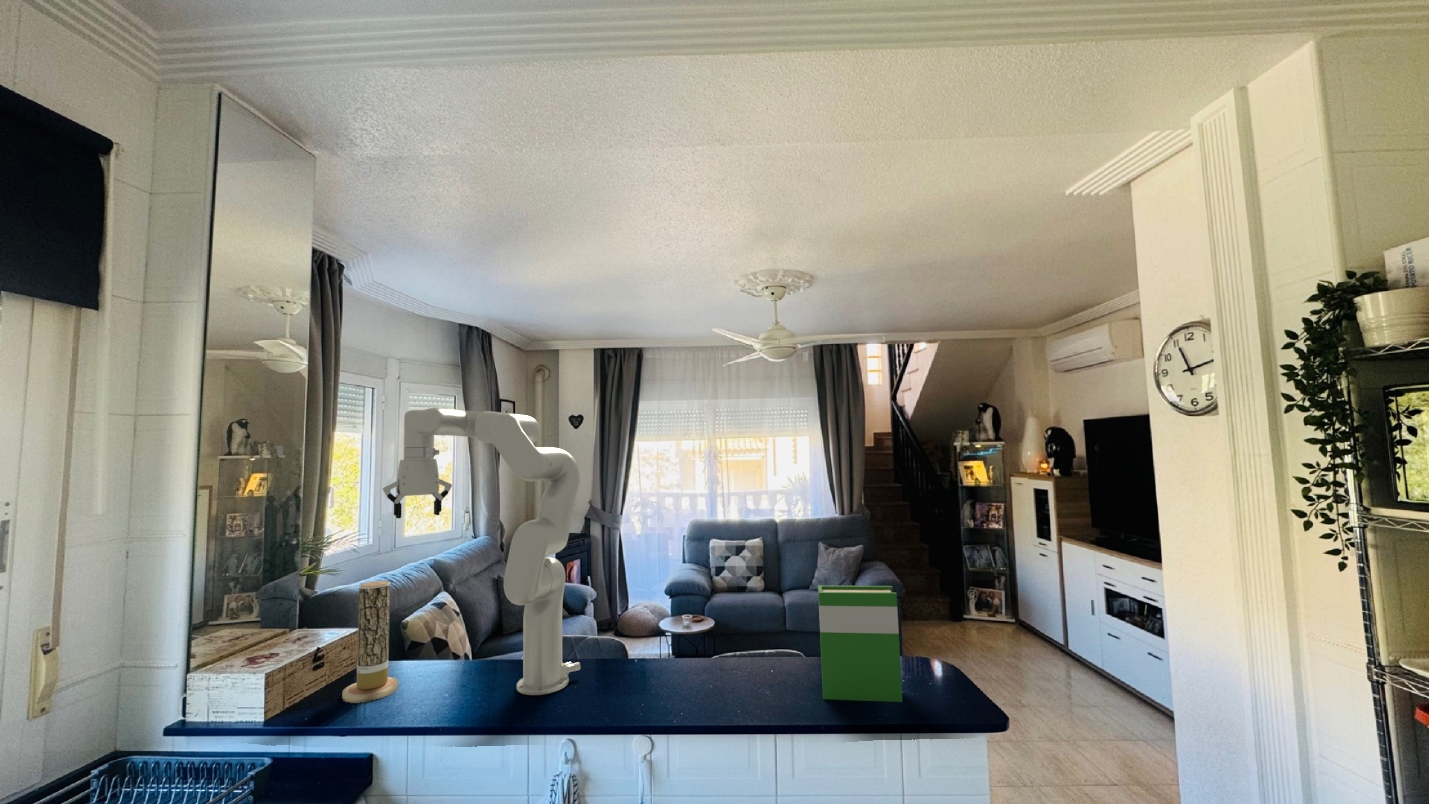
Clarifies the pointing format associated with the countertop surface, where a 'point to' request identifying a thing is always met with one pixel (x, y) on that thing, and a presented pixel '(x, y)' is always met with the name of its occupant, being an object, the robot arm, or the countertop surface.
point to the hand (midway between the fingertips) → (417, 516)
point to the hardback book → (860, 643)
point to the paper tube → (373, 635)
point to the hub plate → (369, 692)
